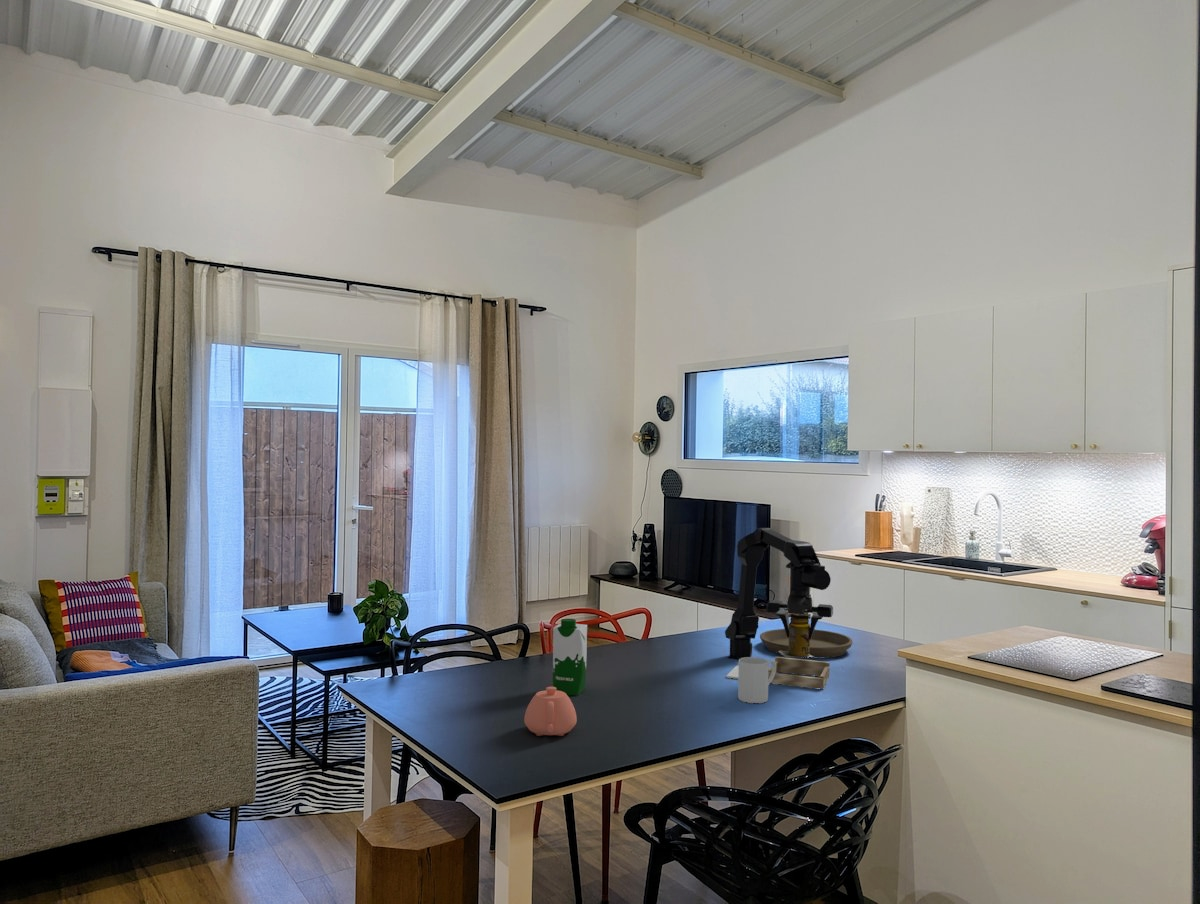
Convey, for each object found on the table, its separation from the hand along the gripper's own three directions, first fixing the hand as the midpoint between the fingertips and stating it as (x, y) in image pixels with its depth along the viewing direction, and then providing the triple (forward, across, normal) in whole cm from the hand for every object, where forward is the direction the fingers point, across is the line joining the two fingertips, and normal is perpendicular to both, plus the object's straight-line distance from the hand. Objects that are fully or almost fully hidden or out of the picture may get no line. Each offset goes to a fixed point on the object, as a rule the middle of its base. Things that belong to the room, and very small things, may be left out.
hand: (799, 637), depth 240 cm
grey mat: (+12, -15, 0) cm, 19 cm away
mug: (+13, -7, -24) cm, 28 cm away
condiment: (+5, -1, 0) cm, 5 cm away
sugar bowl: (+13, -46, -73) cm, 87 cm away
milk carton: (+13, -56, -40) cm, 70 cm away
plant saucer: (+13, -4, +43) cm, 45 cm away
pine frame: (+12, 0, 0) cm, 12 cm away
